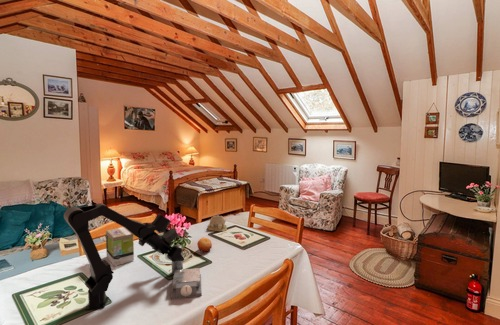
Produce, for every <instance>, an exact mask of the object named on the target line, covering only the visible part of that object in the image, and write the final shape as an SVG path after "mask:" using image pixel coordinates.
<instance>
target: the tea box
mask: <svg viewBox="0 0 500 325" xmlns="http://www.w3.org/2000/svg"><path fill="white" fill-rule="evenodd" d="M105 244H106V245H105V247H106V248H105V249H106V257H107V259H108V261H110V263H111V264H112V266H114V267H116V266H120V265H123V264H127V263H131V262H134V261H135V253H134V252H135V251H134V249H135V248H134V247H135V246H134V235H133V234H132V233H130V232H129V231H128V230H127V229H126V228H125V227H123V226H121V227H116V228H112V229H106V230H105Z"/></svg>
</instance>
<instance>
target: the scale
mask: <svg viewBox="0 0 500 325" xmlns="http://www.w3.org/2000/svg"><path fill="white" fill-rule="evenodd" d="M192 297H202V275H201V273H200V286H198V287H196V282H189V283H179V284H176V289H173V284H172V287H171V293H170V299H171V300H174V299H175V300H176V299H183V298H184V299H185V298H192Z"/></svg>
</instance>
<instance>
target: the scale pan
mask: <svg viewBox="0 0 500 325" xmlns="http://www.w3.org/2000/svg"><path fill="white" fill-rule="evenodd" d="M200 269H201V268H200V267H195V268H183V270H175V271H174V275H173V279H172V285H173V289H176V284H179V283H189V282H196V287H198V286H200V274H201V272H200V271H201V270H200Z"/></svg>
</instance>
